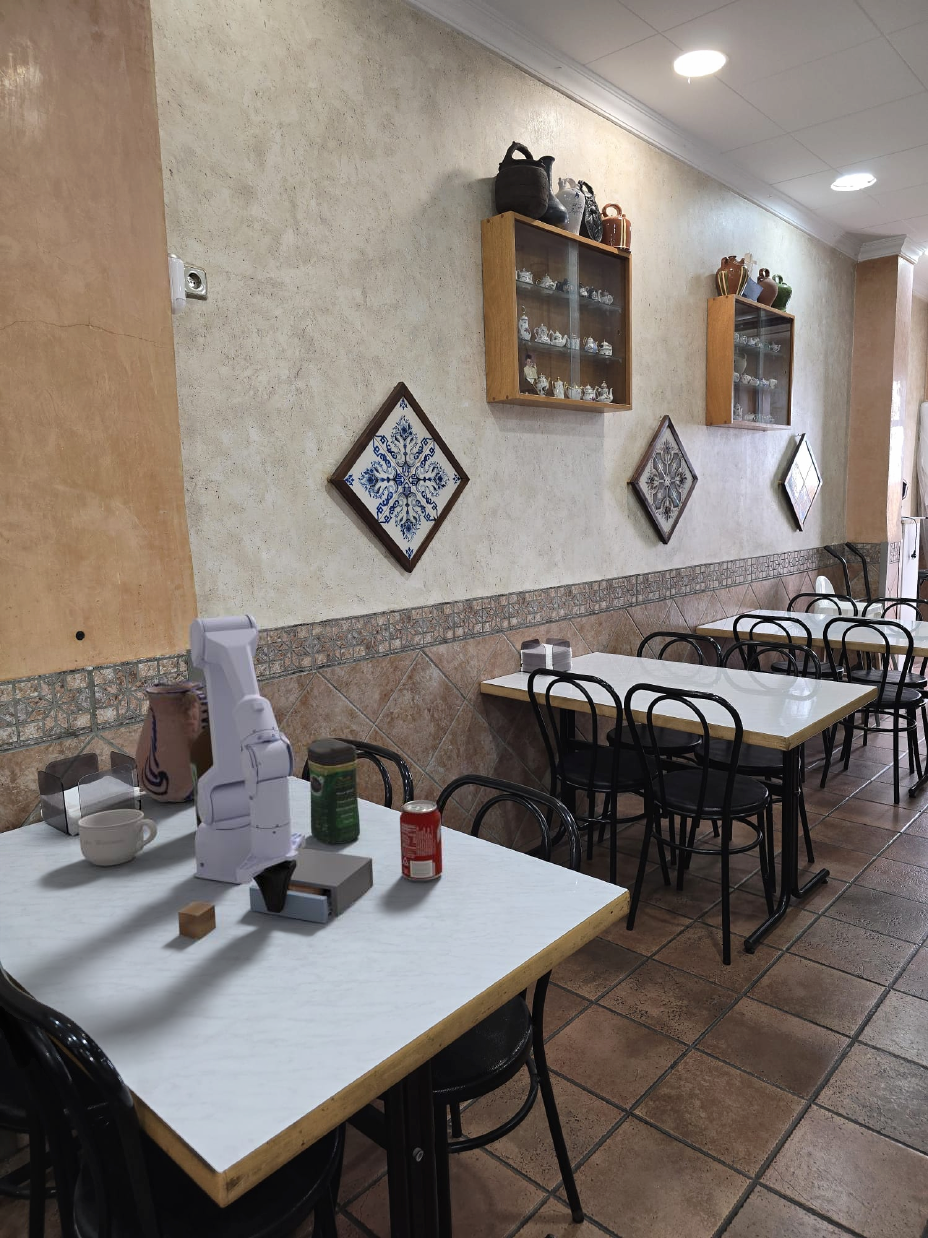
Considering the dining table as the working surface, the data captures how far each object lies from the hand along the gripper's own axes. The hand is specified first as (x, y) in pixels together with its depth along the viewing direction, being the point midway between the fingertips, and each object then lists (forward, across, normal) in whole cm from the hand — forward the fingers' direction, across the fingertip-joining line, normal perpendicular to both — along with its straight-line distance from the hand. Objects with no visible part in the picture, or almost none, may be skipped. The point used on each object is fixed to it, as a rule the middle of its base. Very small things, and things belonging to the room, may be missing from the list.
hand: (275, 910), depth 122 cm
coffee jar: (+2, +32, +9) cm, 34 cm away
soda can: (+2, +22, -14) cm, 26 cm away
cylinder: (+1, +7, -1) cm, 7 cm away
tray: (+1, +7, -1) cm, 7 cm away
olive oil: (+2, +28, +32) cm, 43 cm away
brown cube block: (+2, -6, +9) cm, 11 cm away
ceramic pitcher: (+2, +42, +53) cm, 68 cm away
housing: (+2, +10, -1) cm, 10 cm away
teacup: (+2, +10, +40) cm, 41 cm away
